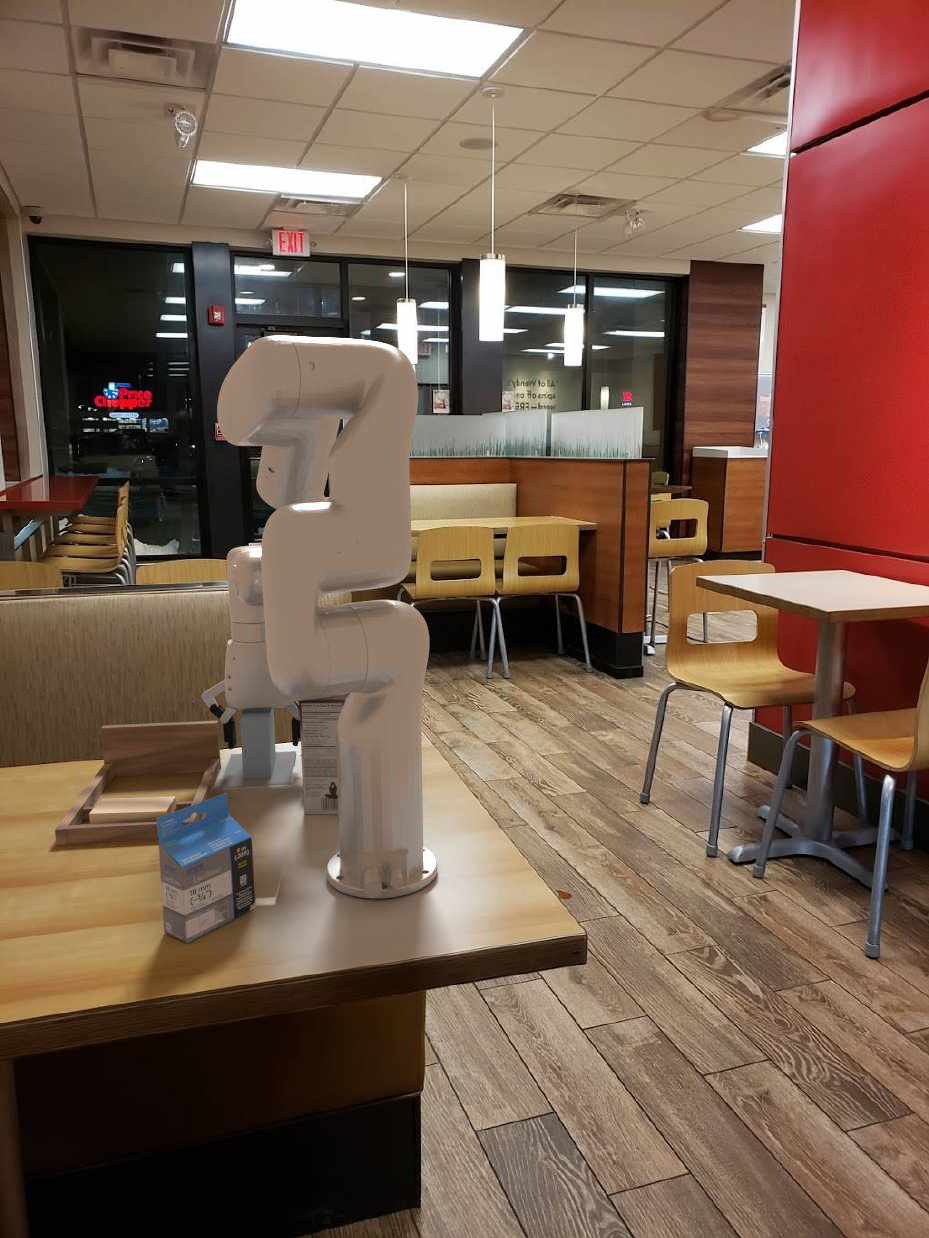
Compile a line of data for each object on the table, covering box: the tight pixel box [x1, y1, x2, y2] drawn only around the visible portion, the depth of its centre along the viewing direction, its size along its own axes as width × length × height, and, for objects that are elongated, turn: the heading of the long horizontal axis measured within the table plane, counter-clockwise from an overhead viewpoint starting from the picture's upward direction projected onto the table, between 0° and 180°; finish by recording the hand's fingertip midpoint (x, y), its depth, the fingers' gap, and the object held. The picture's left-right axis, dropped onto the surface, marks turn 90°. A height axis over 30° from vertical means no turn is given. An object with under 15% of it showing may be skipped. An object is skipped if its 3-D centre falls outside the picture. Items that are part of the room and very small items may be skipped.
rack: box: [54, 720, 222, 846], centre depth 123 cm, size 24×16×8 cm
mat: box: [218, 750, 297, 789], centre depth 136 cm, size 14×10×1 cm
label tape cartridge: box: [156, 792, 256, 944], centre depth 93 cm, size 9×4×12 cm, turn 143°
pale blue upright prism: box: [239, 708, 277, 779], centre depth 135 cm, size 8×4×9 cm, turn 7°
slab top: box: [89, 795, 177, 824], centre depth 115 cm, size 5×9×2 cm, turn 94°
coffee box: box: [298, 693, 350, 815], centre depth 123 cm, size 9×6×16 cm
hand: (264, 744), depth 135 cm, fingers open, 8 cm apart
